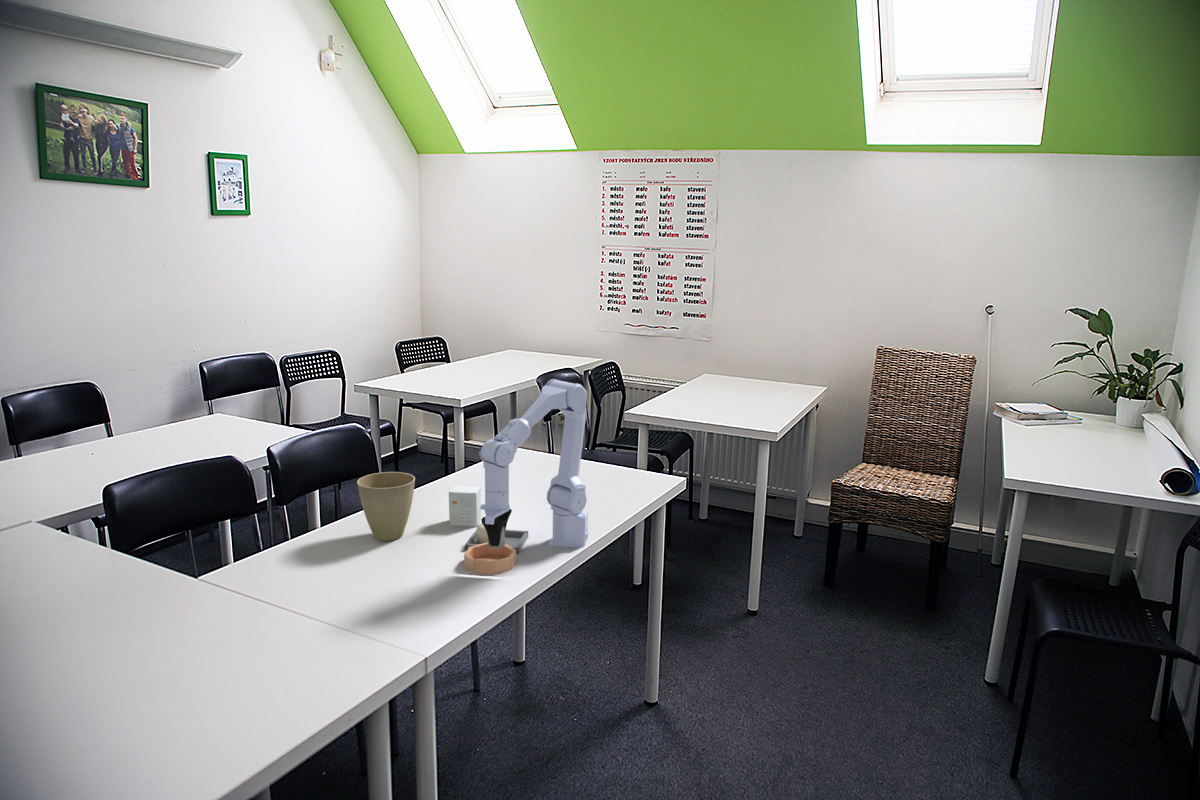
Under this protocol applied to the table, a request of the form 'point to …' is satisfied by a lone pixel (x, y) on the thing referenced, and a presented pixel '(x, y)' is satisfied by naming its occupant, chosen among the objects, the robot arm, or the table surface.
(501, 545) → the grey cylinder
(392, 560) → the table surface
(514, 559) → the bowl
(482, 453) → the robot arm
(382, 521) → the plant pot
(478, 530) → the pebble sand
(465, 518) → the small box
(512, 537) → the tray
